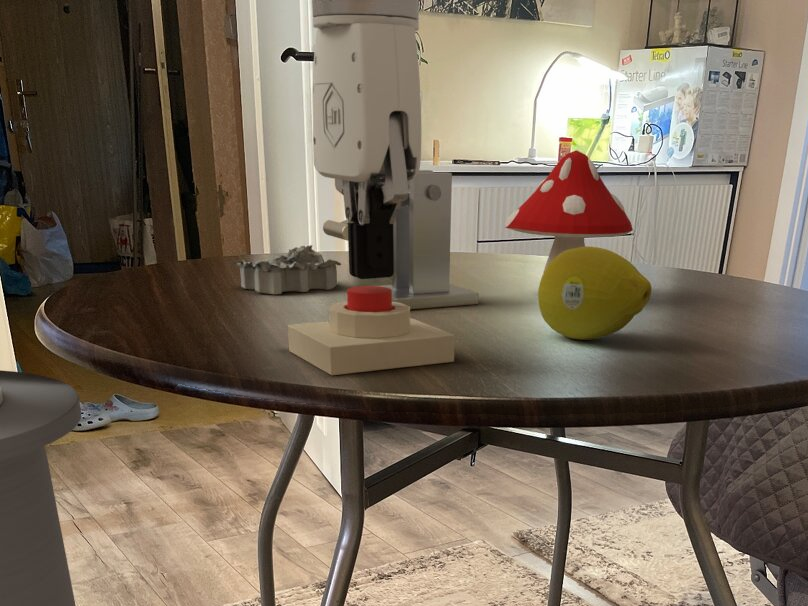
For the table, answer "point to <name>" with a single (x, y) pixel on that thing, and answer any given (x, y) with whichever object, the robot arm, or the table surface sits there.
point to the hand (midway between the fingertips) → (371, 276)
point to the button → (369, 299)
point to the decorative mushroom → (571, 207)
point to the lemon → (591, 293)
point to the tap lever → (342, 228)
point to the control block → (369, 341)
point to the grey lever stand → (426, 247)
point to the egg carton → (290, 272)
